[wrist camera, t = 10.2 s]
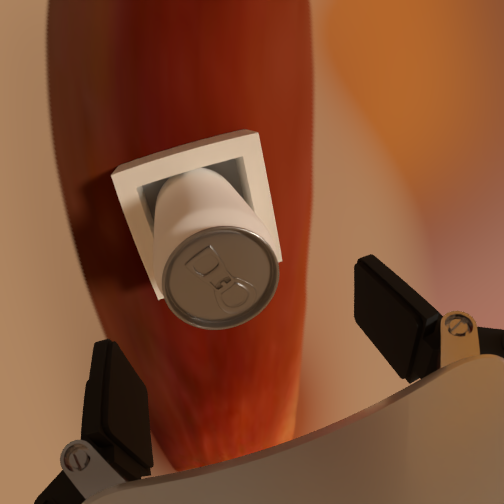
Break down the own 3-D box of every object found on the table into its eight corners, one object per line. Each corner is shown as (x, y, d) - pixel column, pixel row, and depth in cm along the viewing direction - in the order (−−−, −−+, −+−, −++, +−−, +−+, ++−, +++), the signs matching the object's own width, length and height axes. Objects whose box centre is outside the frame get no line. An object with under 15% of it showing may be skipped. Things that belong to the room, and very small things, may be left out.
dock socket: (118, 165, 22) (110, 175, 19) (244, 129, 24) (258, 132, 21) (158, 276, 27) (158, 299, 24) (268, 242, 29) (282, 260, 26)
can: (189, 256, 27) (210, 355, 16) (139, 201, 24) (123, 278, 13) (249, 210, 26) (309, 285, 16) (203, 149, 23) (239, 186, 13)
